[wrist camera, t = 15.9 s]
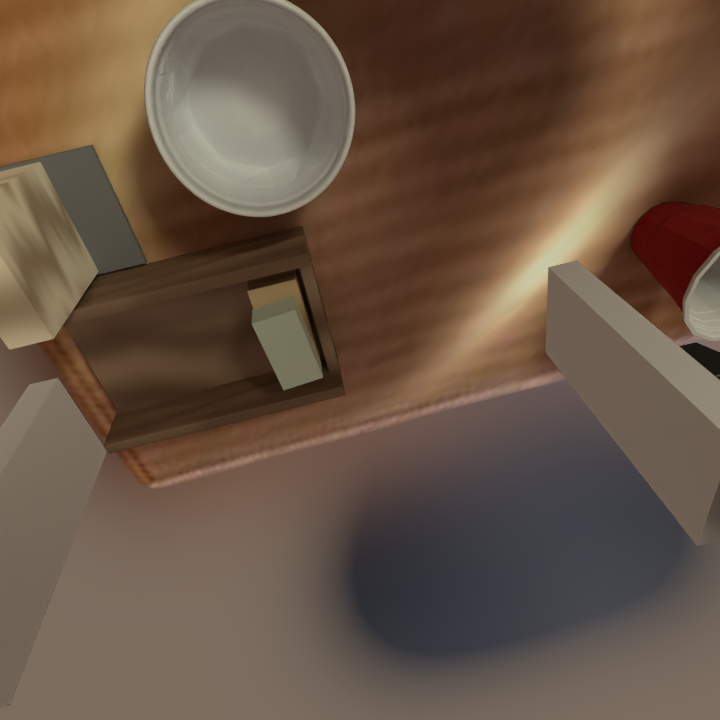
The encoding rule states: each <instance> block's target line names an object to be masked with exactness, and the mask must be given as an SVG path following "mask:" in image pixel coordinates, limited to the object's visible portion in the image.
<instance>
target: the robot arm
mask: <svg viewBox="0 0 720 720" xmlns="http://www.w3.org/2000/svg"><path fill="white" fill-rule="evenodd" d="M545 352H546V354H547V355H548V356H549V358H550V359H551V360H552V361H553V363H554V364H555V365H556V366H557V368H558V369H559V370H560V372H561V373H562V374H563V375H564V377H565V378H566V379H567V381H568V382H569V383H570V384H571V386H572V387H573V388H574V389H575V391H576V392H577V393H578V394H579V396H580V397H581V398H582V400H583V401H584V402H585V403H586V405H587V406H588V407H589V409H590V410H591V411H592V412H593V414H594V415H595V416H596V417H597V419H598V420H599V421H600V423H601V424H602V425H603V426H604V428H605V429H606V430H607V431H608V433H609V434H610V435H611V437H612V438H613V439H614V440H615V442H616V443H617V444H618V445H619V447H620V448H621V449H622V450H623V452H624V453H625V454H626V456H627V457H628V458H629V459H630V461H631V462H632V463H633V465H634V466H635V467H636V468H637V470H638V471H639V472H640V473H641V475H642V476H643V477H644V478H645V480H646V481H647V482H648V484H649V485H650V486H651V487H652V489H653V490H654V491H655V493H656V494H657V495H658V496H659V498H660V499H661V500H662V501H663V503H664V504H665V505H666V507H667V508H668V509H669V510H670V512H671V513H672V514H673V515H674V517H675V518H676V519H677V521H678V522H679V523H680V524H681V526H682V527H683V528H684V529H685V531H686V532H687V533H688V535H689V536H690V537H691V538H692V540H693V541H694V542H695V543H696V545H697V546H699V545H703V544H708V543H712V542H716V541H720V352H717V351H715V350H713V349H710V348H708V347H705V346H703V345H701V344H698V343H692V344H687V345H683V346H678V345H677V344H676V343H675V342H673V341H672V340H671V339H670V338H669V337H667V336H666V335H665V334H664V333H663V332H661V331H660V330H659V329H658V328H657V327H655V326H654V325H653V324H652V323H651V322H649V321H648V320H647V319H646V318H645V317H643V316H642V315H641V314H640V313H639V312H637V311H636V310H635V309H634V308H633V307H632V306H630V305H629V304H628V303H627V302H626V301H624V300H623V299H622V298H621V297H620V296H618V295H617V294H616V293H615V292H614V291H612V290H611V289H610V288H609V287H608V286H606V285H605V284H604V283H603V282H602V281H600V280H599V279H598V278H597V277H596V276H594V275H593V274H592V273H591V272H590V271H588V270H587V269H586V268H585V267H584V266H582V265H581V264H580V263H579V262H578V261H574V262H570V263H566V264H561V265H557V266H552V267H549V271H548V296H547V321H546V347H545ZM106 452H107V451H106V450H105V448H104V447H103V445H102V444H101V442H100V441H99V439H98V438H97V436H96V435H95V433H94V432H93V430H92V429H91V427H90V426H89V424H88V423H87V421H86V420H85V418H84V417H83V415H82V414H81V412H80V411H79V409H78V407H77V406H76V404H75V403H74V401H73V400H72V398H71V397H70V395H69V394H68V392H67V391H66V389H65V388H64V386H63V385H62V383H61V382H60V380H59V379H58V378H56V379H52V380H47V381H43V382H38V383H34V384H30V385H29V386H28V387H27V389H26V390H25V392H24V393H23V395H22V396H21V398H20V399H19V401H18V402H17V404H16V405H15V407H14V408H13V410H12V411H11V413H10V414H9V416H8V418H7V419H6V421H5V422H4V424H3V425H2V427H1V428H0V707H3V706H7V705H10V704H11V701H12V698H13V696H14V693H15V690H16V688H17V685H18V682H19V680H20V677H21V674H22V672H23V670H24V667H25V664H26V662H27V659H28V656H29V654H30V651H31V649H32V646H33V643H34V641H35V638H36V636H37V633H38V630H39V628H40V625H41V622H42V620H43V617H44V615H45V612H46V609H47V607H48V604H49V602H50V599H51V596H52V594H53V591H54V589H55V586H56V583H57V581H58V578H59V575H60V573H61V570H62V568H63V565H64V562H65V560H66V557H67V555H68V552H69V549H70V547H71V544H72V541H73V539H74V536H75V533H76V531H77V528H78V526H79V523H80V521H81V518H82V515H83V513H84V510H85V507H86V505H87V502H88V500H89V497H90V494H91V492H92V489H93V487H94V484H95V481H96V478H97V476H98V473H99V471H100V468H101V465H102V463H103V460H104V458H105V455H106Z"/></svg>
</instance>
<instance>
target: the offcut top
mask: <svg viewBox="0 0 720 720" xmlns="http://www.w3.org/2000/svg"><path fill="white" fill-rule="evenodd" d="M252 326H253V328H254V330H255V332H256V334H257V336H258V338H259V341H260V343H261V345H262V347H263V349H264V351H265V353H266V355H267V357H268V359H269V361H270V363H271V365H272V367H273V369H274V372H275V374H276V376H277V378H278V380H279V382H280V384H281V386H282V388H283V390H287V389H290V388H293V387H296V386H299V385H302V384H305V383H308V382H311V381H314V380H317V379H320V378H323V373H322V366H321V361H320V358H319V356H318V354H317V351H316V349H315V346H314V344H313V341H312V339H311V337H310V334H309V332H308V329H307V327H306V324H305V322H304V319H303V317H302V315H301V312H300V310H299V307H298V305H297V302H296V300H295V298H294V296H291V297H288V298H285V299H282V300H279V301H276V302H273V303H270V304H267V305H264V306H261V307H258V308H255V309H252Z"/></svg>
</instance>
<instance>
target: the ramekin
mask: <svg viewBox="0 0 720 720" xmlns="http://www.w3.org/2000/svg"><path fill="white" fill-rule="evenodd" d="M144 99H145V109H146V115H147V120H148V125H149V128H150V131H151V134H152V137H153V140H154V142H155V144H156V147H157V149H158V151H159V153H160V155H161V156H162V158H163V160H164V161H165V163H166V165H167V166H168V167H169V169H170V170H171V172H172V173H173V174H174V175H175V177H176V178H177V179H178V180H179V181H180V182H181V183H182V184H183V185H184V186H185V187H186V188H187V189H188V190H189V191H191V192H192V193H193V194H194V195H195V196H197V197H198V198H200V199H201V200H203V201H204V202H206V203H208V204H210V205H211V206H213V207H216V208H218V209H220V210H223V211H226V212H229V213H232V214H236V215H241V216H248V217H271V216H276V215H281V214H285V213H288V212H291V211H293V210H296V209H298V208H300V207H302V206H304V205H305V204H307V203H309V202H310V201H312V200H313V199H315V198H316V197H317V196H318V195H319V194H321V193H322V192H323V191H324V190H325V189H326V188H327V187H328V186H329V185H330V184H331V182H332V181H333V180H334V178H335V177H336V176H337V174H338V172H339V171H340V169H341V167H342V165H343V164H344V161H345V159H346V157H347V154H348V152H349V149H350V145H351V142H352V138H353V133H354V125H355V99H354V92H353V86H352V82H351V79H350V75H349V72H348V69H347V67H346V64H345V62H344V60H343V57H342V55H341V53H340V52H339V50H338V48H337V46H336V45H335V43H334V42H333V40H332V39H331V38H330V36H329V35H328V34H327V32H326V31H325V30H324V29H323V28H322V27H321V26H320V25H319V24H318V23H317V22H316V21H315V20H314V19H313V18H312V17H311V16H310V15H308V14H307V13H306V12H304V11H303V10H302V9H300V8H299V7H297V6H296V5H294V4H292V3H290V2H289V1H287V0H195V1H193V2H191V3H189V4H188V5H186V6H185V7H184V8H182V9H181V10H180V11H179V12H178V13H177V14H175V15H174V16H173V17H172V18H171V19H170V21H169V22H168V23H167V24H166V25H165V27H164V28H163V30H162V31H161V33H160V34H159V36H158V38H157V40H156V42H155V44H154V46H153V48H152V51H151V54H150V56H149V60H148V64H147V68H146V74H145V85H144Z"/></svg>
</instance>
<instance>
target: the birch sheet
mask: <svg viewBox="0 0 720 720" xmlns="http://www.w3.org/2000/svg"><path fill="white" fill-rule="evenodd" d="M98 272H99V271H98V269H97V267H96V265H95V264H94V262H93V260H92V258H91V256H90V254H89V252H88V250H87V249H86V247H85V245H84V243H83V241H82V239H81V237H80V235H79V234H78V232H77V230H76V228H75V226H74V224H73V222H72V220H71V219H70V217H69V215H68V213H67V211H66V209H65V207H64V205H63V204H62V202H61V200H60V198H59V196H58V194H57V192H56V190H55V189H54V187H53V185H52V183H51V181H50V179H49V177H48V175H47V174H46V172H45V170H44V168H43V166H42V164H41V162H38V163H34V164H29V165H25V166H21V167H17V168H13V169H9V170H4V171H0V337H1V339H2V340H3V342H4V343H5V345H6V346H7V347H8V349H9V350H10V349H14V348H19V347H23V346H27V345H31V344H35V343H39V342H43V341H47V340H51V339H54V338H55V336H56V335H57V333H58V332H59V330H60V329H61V327H62V326H63V324H64V323H65V321H66V320H67V318H68V317H69V315H70V314H71V312H72V311H73V309H74V308H75V306H76V305H77V303H78V302H79V300H80V299H81V297H82V296H83V294H84V293H85V291H86V290H87V288H88V287H89V285H90V284H91V282H92V281H93V279H94V278H95V276H96V275H97V273H98Z"/></svg>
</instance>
